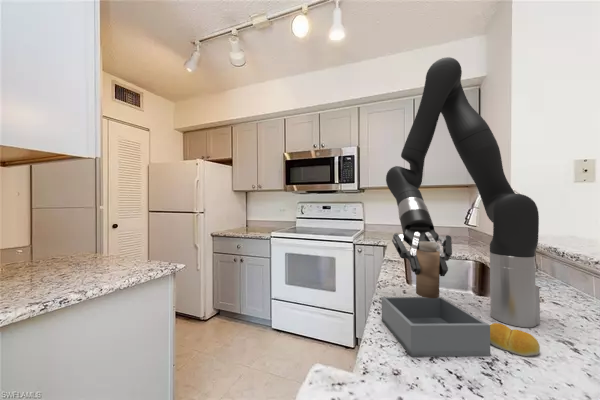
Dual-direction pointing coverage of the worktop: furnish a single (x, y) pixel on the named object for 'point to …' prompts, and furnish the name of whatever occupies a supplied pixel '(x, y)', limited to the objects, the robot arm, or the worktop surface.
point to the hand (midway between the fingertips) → (430, 273)
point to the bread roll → (513, 340)
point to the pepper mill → (428, 270)
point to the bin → (435, 327)
